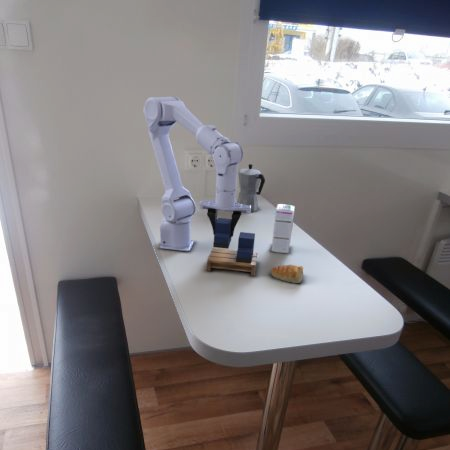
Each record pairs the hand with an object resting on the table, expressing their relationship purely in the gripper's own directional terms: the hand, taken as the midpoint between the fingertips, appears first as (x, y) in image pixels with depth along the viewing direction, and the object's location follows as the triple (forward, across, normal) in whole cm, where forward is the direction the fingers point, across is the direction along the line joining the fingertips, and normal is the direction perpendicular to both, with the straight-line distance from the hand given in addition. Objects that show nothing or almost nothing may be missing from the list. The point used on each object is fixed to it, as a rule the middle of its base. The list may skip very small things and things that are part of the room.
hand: (223, 234), depth 120 cm
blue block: (+2, 0, +1) cm, 3 cm away
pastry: (+9, -20, +5) cm, 23 cm away
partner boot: (+6, -7, +2) cm, 9 cm away
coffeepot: (+9, -3, -53) cm, 54 cm away
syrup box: (+9, -18, -15) cm, 25 cm away
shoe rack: (+9, -3, +2) cm, 10 cm away
